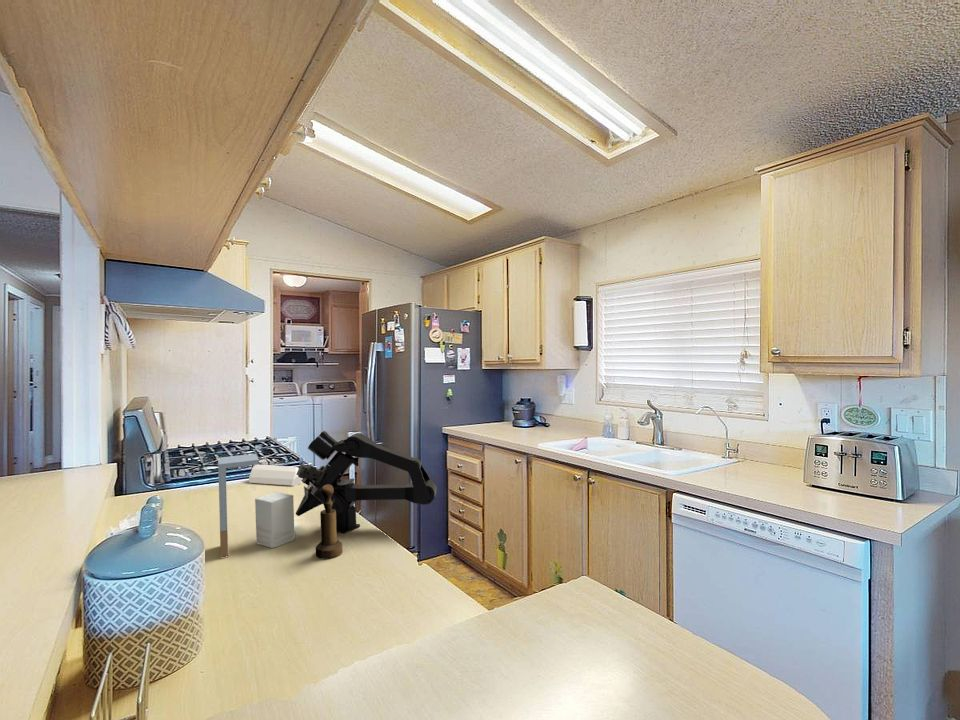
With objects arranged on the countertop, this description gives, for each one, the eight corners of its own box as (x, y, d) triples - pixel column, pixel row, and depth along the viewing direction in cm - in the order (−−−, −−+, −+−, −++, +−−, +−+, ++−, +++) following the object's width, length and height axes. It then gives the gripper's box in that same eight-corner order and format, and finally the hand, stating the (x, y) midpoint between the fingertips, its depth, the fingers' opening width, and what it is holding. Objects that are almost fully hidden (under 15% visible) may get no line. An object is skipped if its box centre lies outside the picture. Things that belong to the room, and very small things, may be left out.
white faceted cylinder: (241, 475, 193) (292, 478, 186) (252, 463, 198) (302, 465, 192) (248, 488, 196) (299, 492, 190) (259, 476, 202) (308, 479, 196)
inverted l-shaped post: (258, 539, 136) (256, 453, 135) (261, 550, 128) (258, 459, 127) (220, 546, 131) (218, 457, 130) (221, 558, 123) (218, 464, 123)
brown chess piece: (334, 546, 130) (333, 480, 129) (347, 553, 125) (345, 484, 125) (311, 554, 125) (309, 485, 125) (322, 561, 120) (321, 490, 120)
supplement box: (295, 539, 135) (294, 494, 134) (271, 549, 128) (270, 502, 128) (279, 534, 139) (278, 491, 138) (255, 543, 132) (254, 498, 132)
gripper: (307, 448, 147) (269, 490, 141) (320, 459, 130) (279, 507, 125) (334, 470, 151) (299, 512, 145) (351, 483, 135) (311, 530, 129)
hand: (296, 514), depth 136 cm, fingers closed
